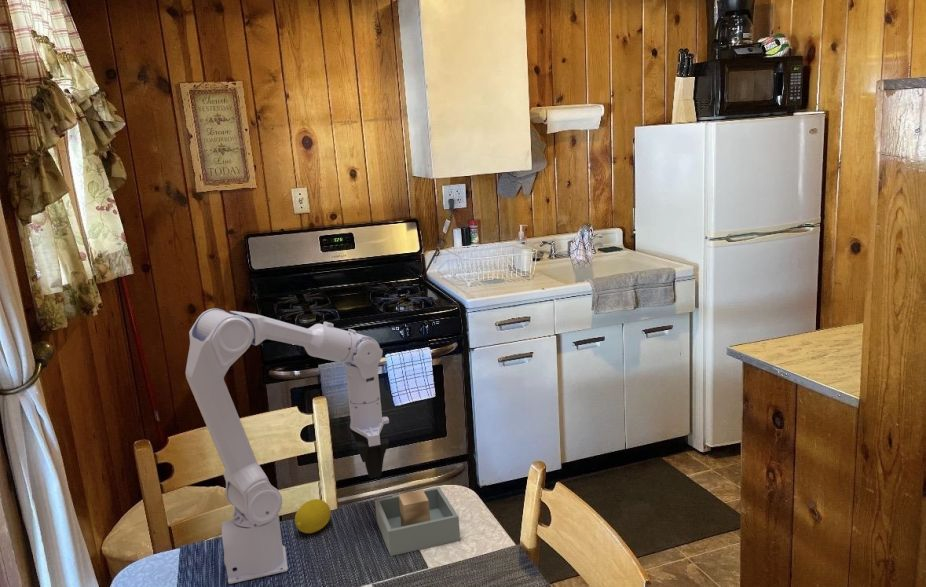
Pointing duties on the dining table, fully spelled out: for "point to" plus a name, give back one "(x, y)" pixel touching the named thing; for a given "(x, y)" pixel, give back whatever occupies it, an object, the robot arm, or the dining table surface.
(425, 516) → the carton
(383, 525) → the tote
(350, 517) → the dining table surface
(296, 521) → the lemon
